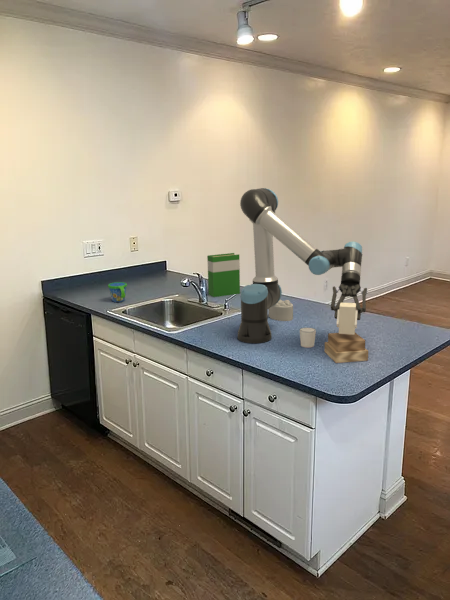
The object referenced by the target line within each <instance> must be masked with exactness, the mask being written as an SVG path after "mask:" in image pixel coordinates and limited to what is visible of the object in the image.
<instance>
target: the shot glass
mask: <svg viewBox="0 0 450 600" xmlns="http://www.w3.org/2000/svg"><path fill="white" fill-rule="evenodd" d="M316 333H317V329H316V328H313V327H301V328H300V329H299V340H300V347H302V348H314V347H315V341H316Z"/></svg>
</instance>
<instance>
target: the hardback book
mask: <svg viewBox="0 0 450 600" xmlns="http://www.w3.org/2000/svg"><path fill="white" fill-rule="evenodd" d="M206 259H207V286H208V290H207V291H208V295H209V296H210V297H212V298H218V297H226V296H232V295H239V294H240V295H241V282H240V281H241V276H240V275H241V274H240V273H241V272H240V271H241V270H240V269H241V268H240V267H241V266H240V264H241V263H240V254H235V252H229V253H221V254H211V255H209V254H208V255H207V258H206Z"/></svg>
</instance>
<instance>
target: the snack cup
mask: <svg viewBox="0 0 450 600" xmlns="http://www.w3.org/2000/svg"><path fill="white" fill-rule="evenodd" d="M107 287H108V289H109V294H110V298H111V301H112V302H114V303H122V302H125V301H126V293H127V292H126V291H127V287H128V284H127V282H124V281H122V282H121V281H120V282H119V281H116V282H111V283H108V285H107Z"/></svg>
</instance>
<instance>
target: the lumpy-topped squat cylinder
mask: <svg viewBox="0 0 450 600" xmlns="http://www.w3.org/2000/svg"><path fill="white" fill-rule="evenodd" d="M269 317H270V318H269ZM268 318H269V319H271V320H274V321H280V322H290V321H293V319H294V304H293V303H292V302H291V301H290V300H289V299H285V300H282V299H280V300H279V301H278V303H277V304H276V305H274V306H272V307H270V308H269V309H268Z"/></svg>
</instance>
